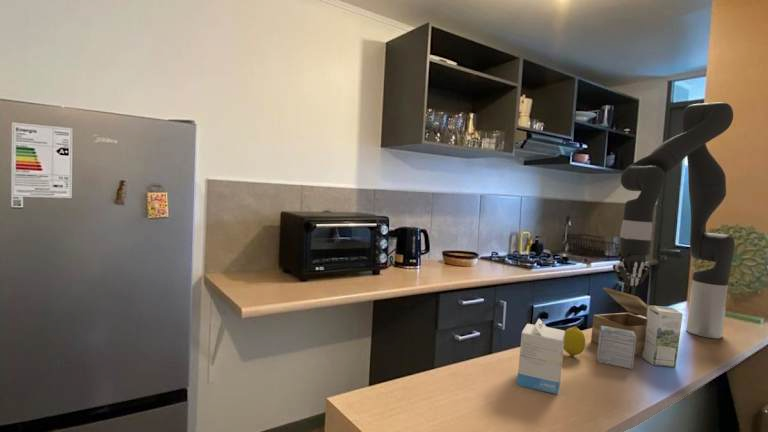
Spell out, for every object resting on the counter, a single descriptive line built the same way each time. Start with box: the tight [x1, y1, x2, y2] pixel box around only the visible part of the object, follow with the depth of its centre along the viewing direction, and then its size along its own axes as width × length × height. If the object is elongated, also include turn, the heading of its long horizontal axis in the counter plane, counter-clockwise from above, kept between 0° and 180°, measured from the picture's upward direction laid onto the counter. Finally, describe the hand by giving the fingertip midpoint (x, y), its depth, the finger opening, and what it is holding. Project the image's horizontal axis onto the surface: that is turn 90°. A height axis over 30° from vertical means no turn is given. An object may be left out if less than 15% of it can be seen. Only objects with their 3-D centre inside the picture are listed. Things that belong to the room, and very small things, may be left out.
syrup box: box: [641, 304, 684, 368], centre depth 109 cm, size 6×6×14 cm
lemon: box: [563, 326, 586, 357], centre depth 109 cm, size 6×6×8 cm
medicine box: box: [596, 326, 636, 370], centre depth 107 cm, size 8×4×9 cm, turn 65°
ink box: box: [517, 318, 566, 395], centre depth 92 cm, size 9×8×13 cm
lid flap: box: [602, 286, 649, 318], centre depth 119 cm, size 14×11×1 cm
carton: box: [590, 312, 646, 357], centre depth 119 cm, size 14×11×8 cm
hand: (628, 297), depth 118 cm, fingers closed
